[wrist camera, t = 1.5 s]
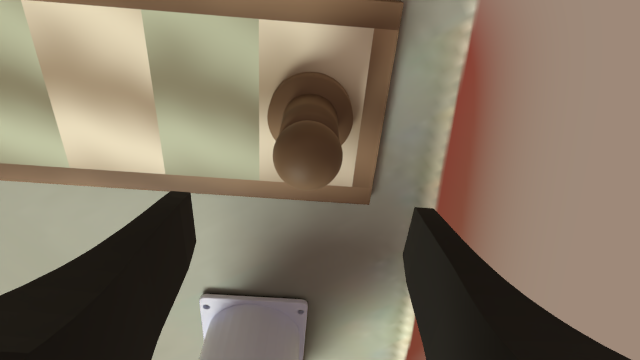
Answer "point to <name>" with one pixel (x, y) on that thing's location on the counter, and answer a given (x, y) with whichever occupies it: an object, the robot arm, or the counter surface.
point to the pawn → (309, 129)
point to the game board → (184, 90)
